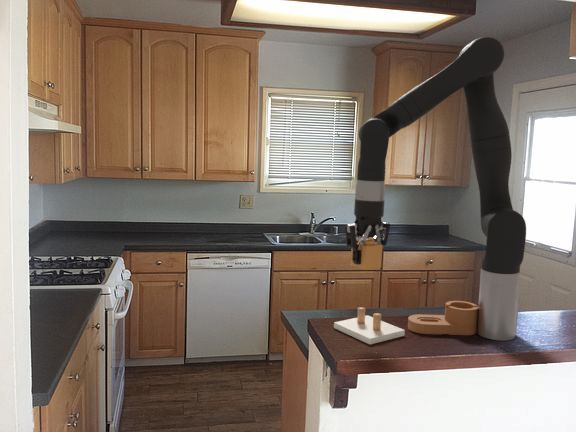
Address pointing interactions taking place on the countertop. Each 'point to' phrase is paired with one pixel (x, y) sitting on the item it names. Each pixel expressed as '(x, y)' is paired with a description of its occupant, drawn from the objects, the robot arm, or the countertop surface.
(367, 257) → the cube with dome top
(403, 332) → the plate
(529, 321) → the countertop surface
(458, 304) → the bracket
